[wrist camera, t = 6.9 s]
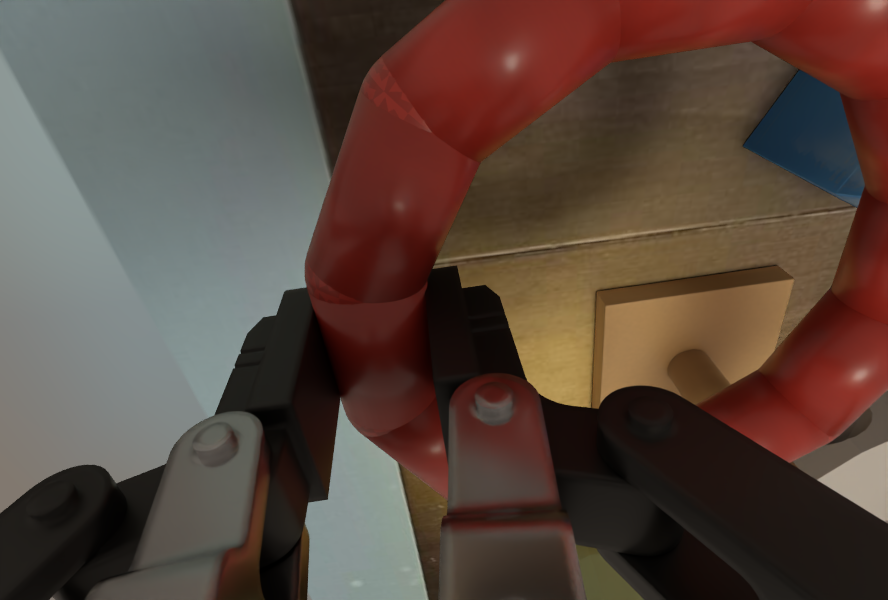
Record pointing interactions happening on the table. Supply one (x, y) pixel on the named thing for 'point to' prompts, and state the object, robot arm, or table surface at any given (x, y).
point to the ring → (505, 115)
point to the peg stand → (688, 332)
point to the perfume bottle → (811, 138)
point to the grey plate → (856, 461)
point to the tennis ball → (602, 578)
